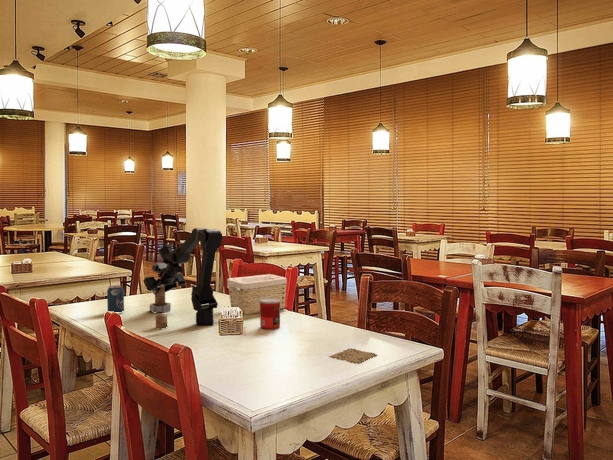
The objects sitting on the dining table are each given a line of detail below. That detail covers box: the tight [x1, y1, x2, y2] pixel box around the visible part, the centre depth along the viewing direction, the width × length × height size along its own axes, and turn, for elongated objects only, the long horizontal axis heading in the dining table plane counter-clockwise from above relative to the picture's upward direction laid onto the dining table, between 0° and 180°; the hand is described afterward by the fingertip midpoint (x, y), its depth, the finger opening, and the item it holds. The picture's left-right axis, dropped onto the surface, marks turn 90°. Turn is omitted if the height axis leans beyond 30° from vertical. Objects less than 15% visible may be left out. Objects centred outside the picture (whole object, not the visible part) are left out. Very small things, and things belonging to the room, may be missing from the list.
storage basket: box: [226, 273, 288, 315], centre depth 243 cm, size 24×16×15 cm
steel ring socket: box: [149, 301, 172, 313], centre depth 240 cm, size 9×9×3 cm
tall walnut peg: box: [154, 285, 166, 306], centre depth 239 cm, size 4×4×12 cm
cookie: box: [328, 347, 378, 365], centre depth 173 cm, size 12×12×1 cm
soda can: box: [106, 284, 125, 312], centre depth 235 cm, size 7×7×12 cm
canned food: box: [259, 298, 281, 331], centre depth 210 cm, size 8×8×11 cm
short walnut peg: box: [155, 313, 168, 329], centre depth 209 cm, size 4×4×5 cm
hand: (158, 292), depth 240 cm, fingers closed on tall walnut peg, 4 cm apart
